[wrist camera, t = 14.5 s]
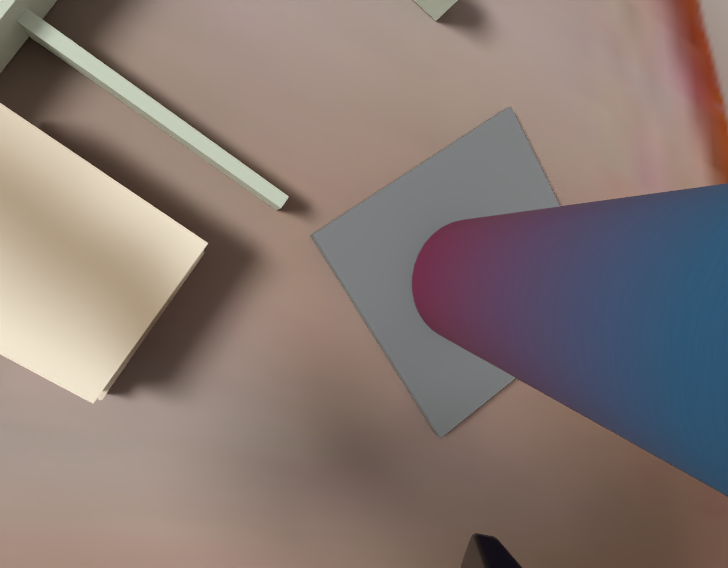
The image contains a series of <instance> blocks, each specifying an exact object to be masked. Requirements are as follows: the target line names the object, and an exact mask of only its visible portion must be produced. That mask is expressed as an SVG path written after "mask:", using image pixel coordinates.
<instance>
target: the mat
mask: <svg viewBox="0 0 728 568" xmlns="http://www.w3.org/2000/svg"><path fill="white" fill-rule="evenodd" d="M552 207H560V205H559V203H558V201H557V199H556V197H555V195H554V193H553V191H552V189H551V186H550V184H549V182H548V180H547V178H546V176H545V174H544V172H543V170H542V168H541V166H540V164H539V162H538V160H537V158H536V156H535V154H534V152H533V150H532V148H531V146H530V144H529V142H528V140H527V138H526V136H525V134H524V132H523V130H522V128H521V126H520V124H519V122H518V120H517V118H516V116H515V114H514V112H513V110H512V108H511V107H509V108H506V109H504V110H503V111H501V112H499V113H498V114H496V115H495V116H493V117H492V118H490V119H489V120H487V121H486V122H484V123H482V124H481V125H479V126H478V127H476V128H475V129H473V130H472V131H470V132H469V133H467V134H466V135H464V136H462V137H461V138H459V139H458V140H456V141H455V142H453V143H452V144H450V145H449V146H447V147H445V148H444V149H442V150H441V151H439V152H438V153H436V154H435V155H433V156H432V157H430V158H429V159H427V160H425V161H424V162H422V163H421V164H419V165H418V166H416V167H415V168H413V169H412V170H410V171H408V172H407V173H405V174H404V175H402V176H401V177H399V178H398V179H396V180H395V181H393V182H392V183H390V184H388V185H387V186H385V187H384V188H382V189H381V190H379V191H378V192H376V193H375V194H373V195H371V196H370V197H368V198H367V199H365V200H364V201H362V202H361V203H359V204H358V205H356V206H355V207H353V208H351V209H350V210H348V211H347V212H345V213H344V214H342V215H341V216H339V217H338V218H336V219H335V220H333V221H331V222H330V223H328V224H327V225H325V226H324V227H322V228H321V229H319V230H318V231H316V232H314V233H313V234H311V235H310V236H311V237H312V239H313V241H314V242H315V244H316V245H317V247H318V248H319V250H320V252H321V253H322V255H323V256H324V258H325V260H326V261H327V263H328V264H329V266H330V267H331V269H332V271H333V272H334V274H335V275H336V277H337V279H338V280H339V282H340V283H341V285H342V287H343V288H344V290H345V291H346V293H347V294H348V296H349V298H350V299H351V301H352V302H353V304H354V306H355V307H356V309H357V310H358V312H359V314H360V315H361V317H362V318H363V320H364V321H365V323H366V325H367V326H368V328H369V329H370V331H371V333H372V334H373V336H374V337H375V339H376V341H377V342H378V344H379V345H380V347H381V348H382V350H383V352H384V353H385V355H386V356H387V358H388V360H389V361H390V363H391V364H392V366H393V367H394V369H395V371H396V372H397V374H398V375H399V377H400V379H401V380H402V382H403V383H404V385H405V387H406V388H407V390H408V391H409V393H410V394H411V396H412V398H413V399H414V401H415V402H416V404H417V406H418V407H419V409H420V410H421V412H422V414H423V415H424V417H425V418H426V420H427V421H428V423H429V425H430V426H431V428H432V429H433V431H434V433H435V434H436V435H437V436H438V437H440V438H442V437H443V436H444V435H446V434H447V433H448V432H449V431H451V430H452V429H453V428H454V427H456V426H457V425H458V424H459V423H461V422H462V421H463V420H464V419H465V418H467V417H468V416H469V415H470V414H472V413H473V412H474V411H475V410H477V409H478V408H479V407H480V406H482V405H483V404H484V403H485V402H487V401H488V400H489V399H490V398H492V397H493V396H494V395H495V394H497V393H498V392H499V391H500V390H501V389H503V388H504V387H505V386H506V385H508V384H509V383H510V382H511V381H513V380H514V379H515V377H513V376H512V375H510V374H508V373H506V372H505V371H503V370H501V369H499V368H497V367H496V366H494V365H492V364H490V363H488V362H487V361H485V360H483V359H481V358H480V357H478V356H476V355H474V354H472V353H471V352H469V351H467V350H465V349H463V348H462V347H460V346H458V345H456V344H455V343H453V342H451V341H449V340H447V339H446V338H444V337H442V336H440V335H439V334H437V333H436V332H434V331H433V330H431V328H430V327H429V326H428V325H427V324H426V323H425V322H424V321H423V319H422V318H421V316H420V315H419V313H418V311H417V308H416V305H415V303H414V298H413V293H412V275H413V269H414V264H415V262H416V259H417V257H418V254H419V252H420V250H421V249H422V247H423V245H424V244H425V242H426V241H427V240H428V239H429V238H430V237H431V236H432V234H434V233H435V232H436V231H438V230H439V229H440V228H442V227H443V226H445V225H447V224H450V223H452V222H455V221H460V220H465V219H472V218H479V217H487V216H494V215H501V214H509V213H516V212H523V211H531V210H538V209H545V208H552Z"/></svg>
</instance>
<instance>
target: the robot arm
mask: <svg viewBox="0 0 728 568" xmlns="http://www.w3.org/2000/svg"><path fill="white" fill-rule="evenodd" d="M461 568H522V567H521V566H520V565H519V563H518V562H517V561H516V560H515V559H514V558H513V557H512V555H511V554H510V553H509V552H508V551H507V550H506V548H505V547H504V546H503V545H502V544H501V543H500V541H499V540H498V539H496V538H495V537H493V536H488V535H483V534H478V533H475V534H473V535H472V536H471V538H470V541H469V544H468V547H467V550H466V553H465V556H464V559H463V562H462V565H461Z"/></svg>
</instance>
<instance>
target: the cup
mask: <svg viewBox="0 0 728 568" xmlns="http://www.w3.org/2000/svg"><path fill="white" fill-rule="evenodd" d="M412 293H413V298H414V303H415V305H416V308H417V311H418V313H419V315H420V316H421V318H422V319H423V321H424V322H425V323H426V324H427V325H428V326H429V327H430V328H431V330H433V331H434V332H436V333H437V334H439V335H440V336H442V337H444V338H446V339H447V340H449V341H451V342H453V343H455V344H456V345H458V346H460V347H462V348H463V349H465V350H467V351H469V352H471V353H472V354H474V355H476V356H478V357H480V358H481V359H483V360H485V361H487V362H488V363H490V364H492V365H494V366H496V367H497V368H499V369H501V370H503V371H505V372H506V373H508V374H510V375H512V376H513V377H515V378H517V379H519V380H521V381H522V382H524V383H526V384H528V385H530V386H531V387H533V388H535V389H537V390H539V391H540V392H542V393H544V394H546V395H547V396H549V397H551V398H553V399H555V400H556V401H558V402H560V403H562V404H564V405H565V406H567V407H569V408H571V409H572V410H574V411H576V412H578V413H580V414H581V415H583V416H585V417H587V418H589V419H590V420H592V421H594V422H596V423H597V424H599V425H601V426H603V427H605V428H606V429H608V430H610V431H612V432H614V433H615V434H617V435H619V436H621V437H622V438H624V439H626V440H628V441H630V442H631V443H633V444H635V445H637V446H639V447H640V448H642V449H644V450H646V451H647V452H649V453H651V454H653V455H655V456H656V457H658V458H660V459H662V460H664V461H665V462H667V463H669V464H671V465H673V466H674V467H676V468H678V469H680V470H681V471H683V472H685V473H687V474H689V475H690V476H692V477H694V478H696V479H698V480H699V481H701V482H703V483H705V484H706V485H708V486H710V487H712V488H714V489H715V490H717V491H719V492H721V493H723V494H724V495H726V496H728V184H721V185H713V186H706V187H699V188H691V189H684V190H677V191H669V192H662V193H655V194H647V195H640V196H633V197H626V198H618V199H611V200H604V201H596V202H589V203H582V204H574V205H567V206H560V207H552V208H545V209H538V210H531V211H523V212H516V213H509V214H501V215H494V216H487V217H479V218H472V219H465V220H460V221H455V222H452V223H450V224H447V225H445V226H443V227H442V228H440V229H439V230H438V231H436V232H435V233H434V234H432V236H431V237H430V238H429V239H428V240H427V241H426V242H425V244H424V245H423V247H422V249H421V250H420V252H419V254H418V257H417V259H416V262H415V264H414V269H413V275H412Z"/></svg>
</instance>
